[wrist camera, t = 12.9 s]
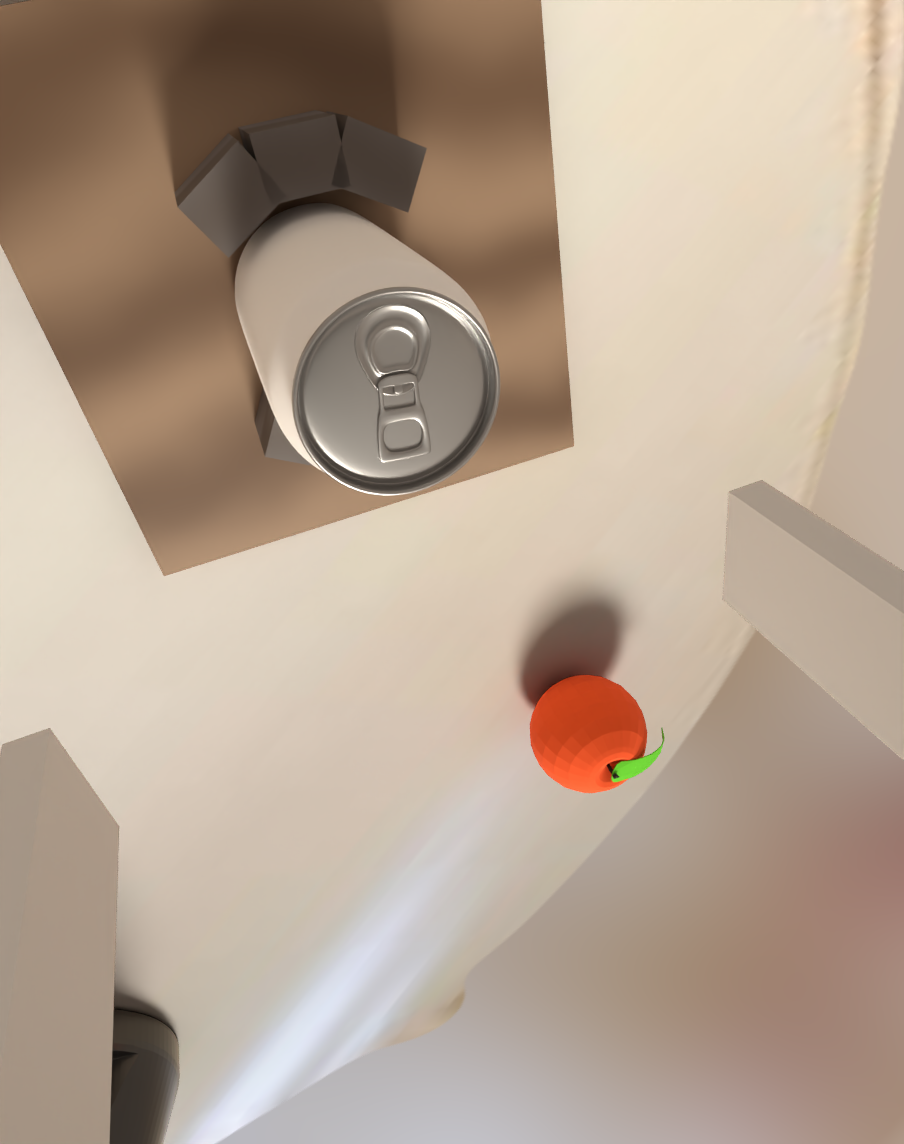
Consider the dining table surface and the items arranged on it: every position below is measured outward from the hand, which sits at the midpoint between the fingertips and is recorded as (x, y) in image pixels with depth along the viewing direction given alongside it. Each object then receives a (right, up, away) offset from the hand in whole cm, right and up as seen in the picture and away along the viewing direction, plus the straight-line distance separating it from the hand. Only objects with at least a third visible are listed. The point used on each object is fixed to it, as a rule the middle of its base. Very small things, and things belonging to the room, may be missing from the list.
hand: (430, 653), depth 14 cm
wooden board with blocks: (-5, +13, +16) cm, 21 cm away
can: (-5, +12, +15) cm, 20 cm away
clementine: (+8, -6, +34) cm, 35 cm away
